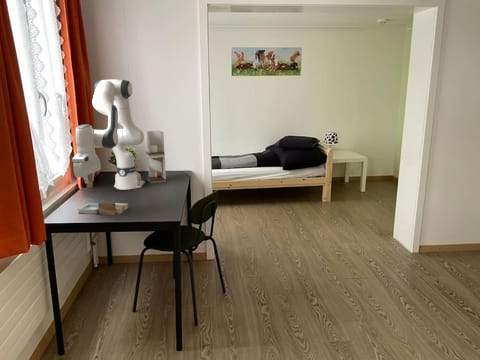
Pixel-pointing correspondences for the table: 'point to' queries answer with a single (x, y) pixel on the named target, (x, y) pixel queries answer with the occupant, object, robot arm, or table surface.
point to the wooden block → (107, 208)
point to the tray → (89, 209)
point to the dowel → (90, 181)
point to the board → (120, 207)
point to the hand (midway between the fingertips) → (89, 181)
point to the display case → (155, 156)
